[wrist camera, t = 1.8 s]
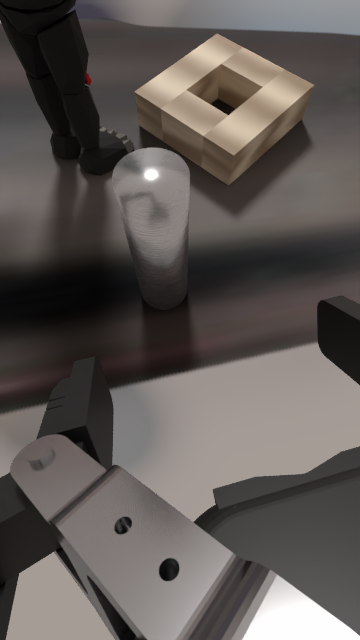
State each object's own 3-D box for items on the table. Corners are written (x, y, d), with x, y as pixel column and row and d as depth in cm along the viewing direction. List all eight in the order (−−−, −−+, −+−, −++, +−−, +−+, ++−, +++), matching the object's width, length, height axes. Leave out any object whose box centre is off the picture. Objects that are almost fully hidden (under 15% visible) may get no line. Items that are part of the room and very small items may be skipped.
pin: (164, 319, 30) (151, 221, 17) (131, 290, 31) (95, 178, 18) (196, 287, 31) (206, 174, 18) (163, 261, 33) (150, 136, 20)
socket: (228, 185, 36) (233, 155, 32) (139, 125, 40) (134, 91, 36) (301, 119, 40) (314, 85, 36) (214, 69, 43) (217, 33, 40)
